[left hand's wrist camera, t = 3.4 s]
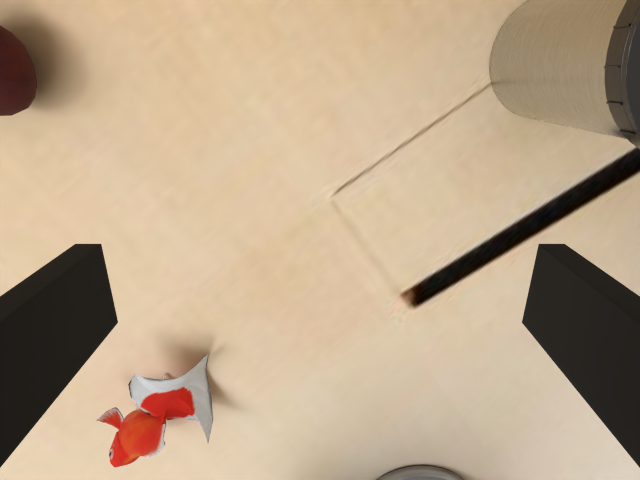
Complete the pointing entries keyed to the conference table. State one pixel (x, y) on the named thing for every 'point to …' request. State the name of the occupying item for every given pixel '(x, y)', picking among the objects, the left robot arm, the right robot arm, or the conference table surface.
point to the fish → (159, 413)
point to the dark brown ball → (15, 75)
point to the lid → (625, 72)
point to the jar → (557, 62)
